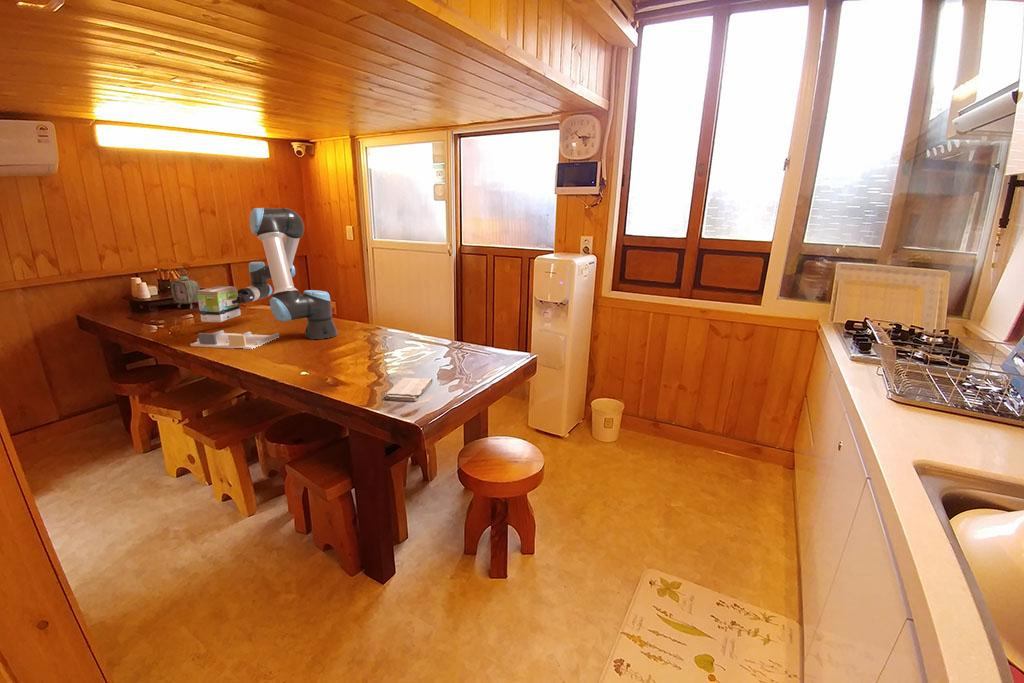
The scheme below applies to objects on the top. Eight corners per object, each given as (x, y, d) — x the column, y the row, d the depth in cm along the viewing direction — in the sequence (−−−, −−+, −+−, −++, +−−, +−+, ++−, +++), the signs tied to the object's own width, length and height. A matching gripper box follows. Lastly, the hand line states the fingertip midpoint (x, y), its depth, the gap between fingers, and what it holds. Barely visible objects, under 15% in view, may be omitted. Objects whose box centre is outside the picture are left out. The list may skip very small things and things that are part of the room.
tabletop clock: (174, 308, 284) (166, 268, 277) (188, 305, 292) (180, 267, 285) (191, 310, 279) (183, 270, 272) (204, 307, 288) (197, 268, 281)
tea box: (222, 322, 207) (216, 291, 203) (201, 322, 208) (195, 290, 203) (241, 315, 222) (237, 285, 218) (221, 314, 222) (216, 285, 218)
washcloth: (384, 401, 152) (383, 393, 151) (402, 382, 169) (402, 374, 168) (418, 403, 150) (417, 395, 150) (433, 384, 168) (433, 376, 167)
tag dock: (279, 337, 223) (277, 326, 221) (252, 349, 204) (250, 336, 202) (222, 334, 226) (220, 323, 225) (190, 346, 207) (188, 333, 206)
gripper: (269, 302, 231) (239, 311, 210) (228, 300, 234) (194, 309, 213) (267, 288, 229) (236, 296, 208) (226, 286, 232) (192, 294, 211)
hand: (215, 303), depth 210 cm, fingers closed on tea box, 10 cm apart
